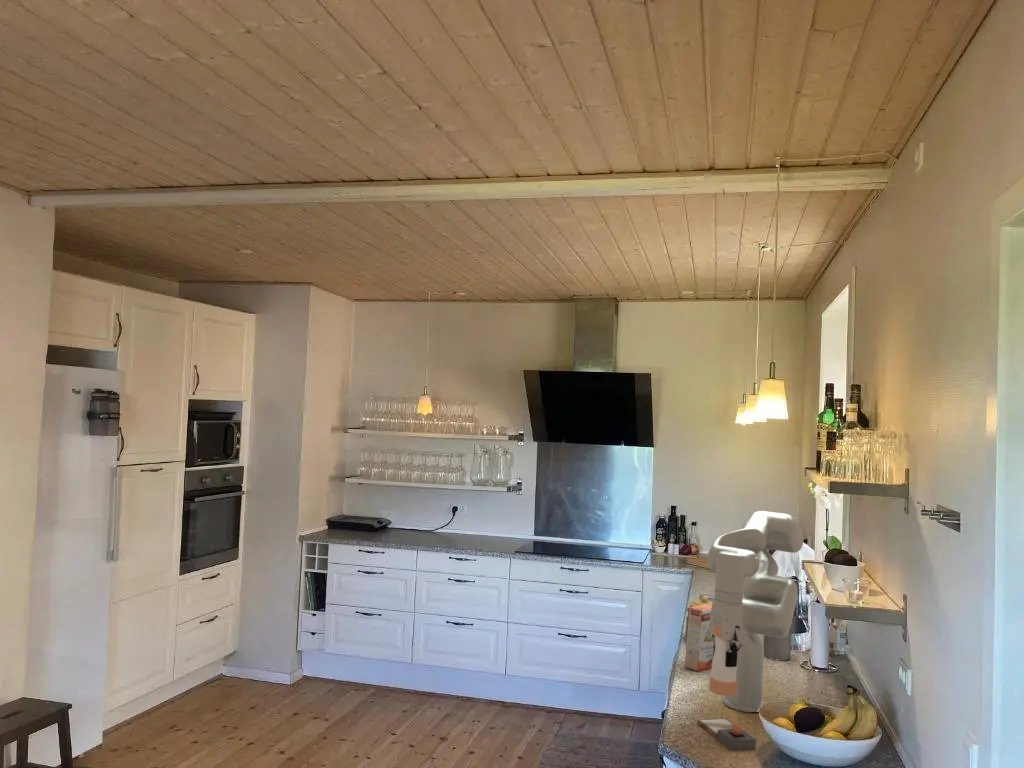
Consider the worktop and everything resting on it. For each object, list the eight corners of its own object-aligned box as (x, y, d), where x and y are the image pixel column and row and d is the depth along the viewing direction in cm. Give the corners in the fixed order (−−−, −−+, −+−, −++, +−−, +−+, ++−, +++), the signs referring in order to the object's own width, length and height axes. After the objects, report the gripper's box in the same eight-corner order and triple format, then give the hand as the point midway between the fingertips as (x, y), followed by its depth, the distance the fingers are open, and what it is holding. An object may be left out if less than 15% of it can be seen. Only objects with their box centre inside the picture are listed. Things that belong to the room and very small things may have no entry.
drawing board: (697, 723, 216) (697, 719, 216) (725, 721, 218) (725, 717, 218) (716, 738, 206) (716, 734, 206) (745, 736, 209) (745, 732, 209)
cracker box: (698, 672, 261) (702, 610, 262) (684, 667, 265) (687, 606, 266) (722, 666, 270) (725, 606, 271) (707, 661, 275) (711, 602, 275)
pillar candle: (767, 651, 293) (769, 611, 293) (793, 657, 287) (795, 616, 287) (759, 656, 285) (761, 616, 285) (786, 663, 279) (788, 621, 280)
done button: (729, 731, 204) (730, 723, 204) (738, 730, 205) (738, 723, 205) (735, 735, 202) (735, 727, 202) (743, 735, 203) (744, 727, 203)
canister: (706, 649, 290) (709, 601, 290) (678, 640, 299) (680, 594, 300) (725, 643, 298) (728, 598, 299) (697, 635, 308) (699, 590, 309)
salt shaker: (705, 691, 211) (709, 621, 212) (713, 684, 218) (717, 616, 218) (732, 698, 208) (736, 626, 208) (739, 691, 214) (743, 621, 215)
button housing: (717, 739, 206) (717, 729, 206) (740, 737, 208) (740, 728, 208) (731, 750, 199) (732, 740, 199) (755, 749, 201) (755, 739, 201)
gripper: (700, 589, 221) (696, 653, 220) (733, 604, 205) (729, 673, 204) (723, 589, 223) (719, 653, 222) (758, 604, 207) (754, 673, 206)
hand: (724, 662), depth 213 cm, fingers closed on salt shaker, 5 cm apart
